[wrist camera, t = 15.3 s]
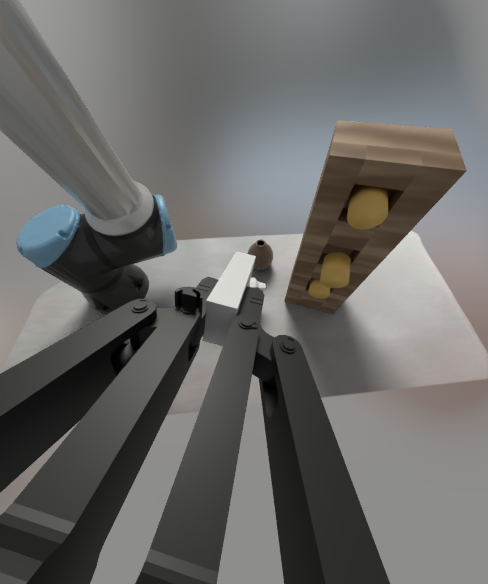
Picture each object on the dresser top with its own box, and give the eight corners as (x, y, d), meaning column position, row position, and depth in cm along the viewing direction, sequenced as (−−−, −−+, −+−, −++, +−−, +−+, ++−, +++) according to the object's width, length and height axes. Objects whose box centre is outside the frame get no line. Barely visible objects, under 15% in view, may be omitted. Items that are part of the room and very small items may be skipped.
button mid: (342, 290, 31) (353, 276, 27) (316, 284, 31) (324, 270, 28) (344, 270, 32) (355, 255, 29) (320, 265, 33) (328, 249, 30)
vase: (276, 266, 55) (280, 245, 47) (257, 278, 53) (257, 258, 46) (262, 251, 58) (263, 229, 50) (243, 262, 56) (241, 240, 48)
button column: (335, 314, 47) (475, 171, 17) (284, 300, 49) (329, 155, 20) (339, 287, 51) (459, 130, 21) (291, 275, 53) (337, 120, 23)
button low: (325, 300, 40) (332, 291, 37) (306, 295, 41) (311, 286, 37) (328, 284, 42) (334, 274, 38) (309, 280, 43) (314, 269, 39)
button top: (375, 232, 24) (396, 203, 20) (341, 226, 24) (356, 197, 21) (376, 211, 25) (395, 181, 22) (344, 205, 26) (358, 176, 23)
